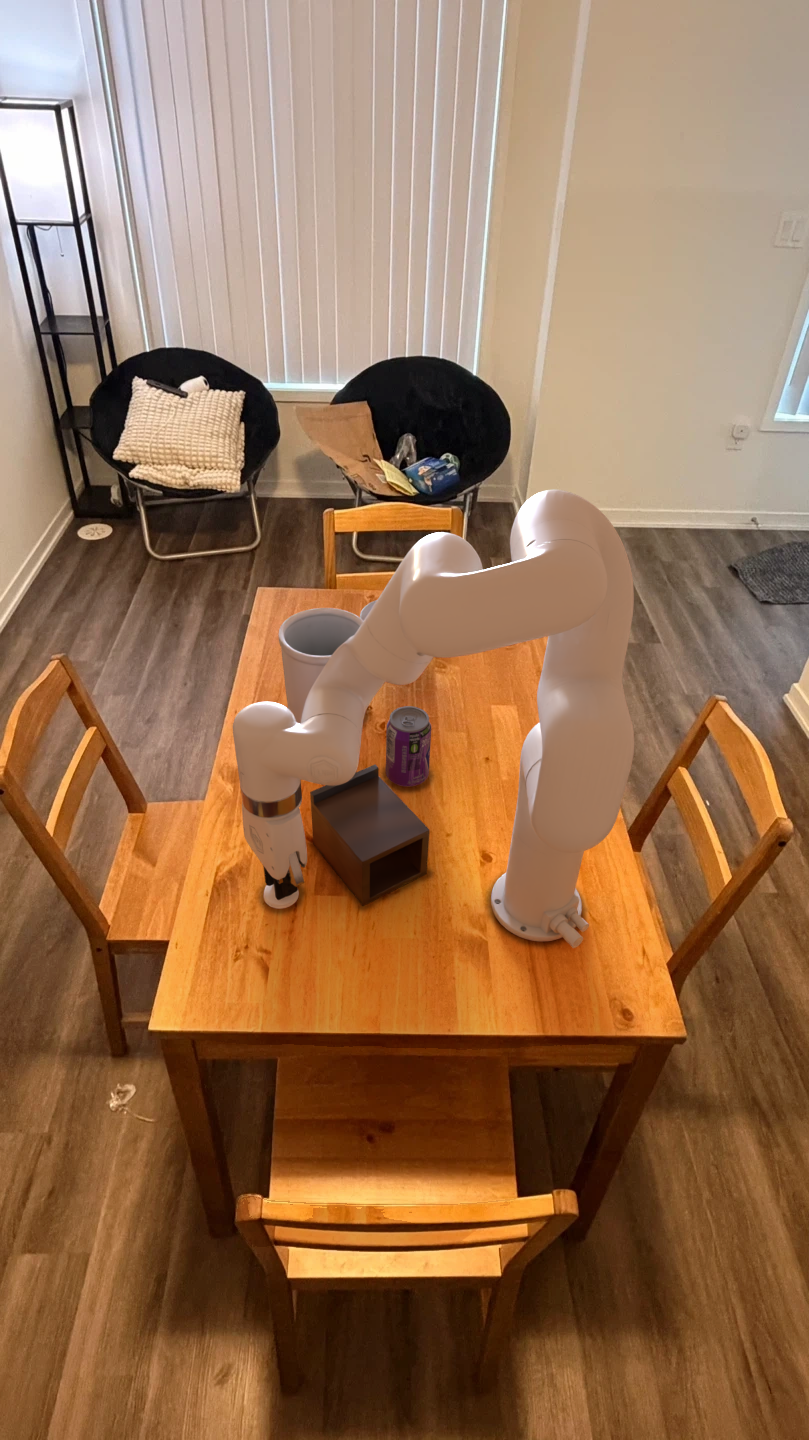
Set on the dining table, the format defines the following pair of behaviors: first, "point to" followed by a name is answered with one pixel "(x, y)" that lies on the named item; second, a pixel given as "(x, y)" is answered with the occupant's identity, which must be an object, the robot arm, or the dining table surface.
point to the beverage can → (408, 746)
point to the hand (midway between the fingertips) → (281, 886)
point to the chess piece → (282, 903)
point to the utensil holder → (311, 649)
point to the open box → (368, 835)
